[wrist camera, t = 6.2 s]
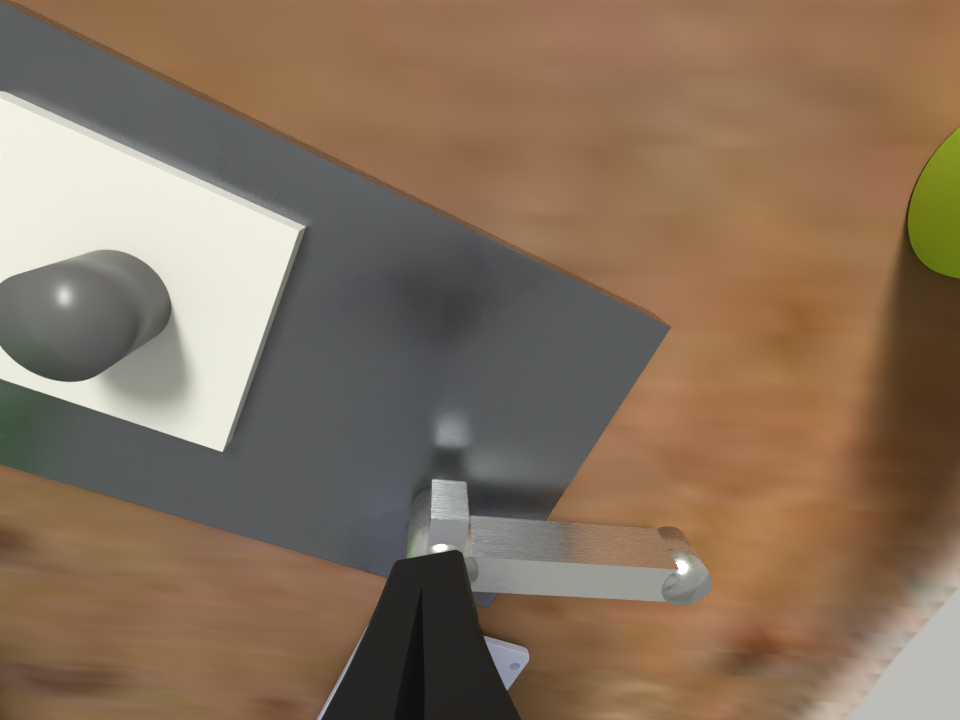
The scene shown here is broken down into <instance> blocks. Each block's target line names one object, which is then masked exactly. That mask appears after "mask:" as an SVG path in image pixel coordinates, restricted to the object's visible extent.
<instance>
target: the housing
mask: <svg viewBox="0 0 960 720" xmlns="http://www.w3.org/2000/svg"><path fill="white" fill-rule="evenodd" d="M0 91H3V92H7V93H9V94H11V95H14V96H16V97H18V98H20V99H23V100H25V101H27V102H29V103H31V104H34V105H36V106H38V107H40V108H43V109H45V110H47V111H49V112H52V113H54V114H56V115H58V116H60V117H63V118H65V119H67V120H69V121H72V122H74V123H76V124H78V125H80V126H83V127H85V128H87V129H89V130H92V131H94V132H96V133H98V134H101V135H103V136H105V137H107V138H109V139H112V140H114V141H116V142H118V143H121V144H123V145H125V146H127V147H130V148H132V149H134V150H136V151H138V152H141V153H143V154H145V155H147V156H150V157H152V158H154V159H156V160H158V161H161V162H163V163H165V164H167V165H170V166H172V167H174V168H176V169H179V170H181V171H183V172H185V173H187V174H190V175H192V176H194V177H196V178H199V179H201V180H203V181H205V182H208V183H210V184H212V185H214V186H216V187H219V188H221V189H223V190H225V191H228V192H230V193H232V194H234V195H236V196H239V197H241V198H243V199H245V200H248V201H250V202H252V203H254V204H257V205H259V206H261V207H263V208H265V209H268V210H270V211H272V212H274V213H277V214H279V215H281V216H283V217H286V218H288V219H290V220H292V221H294V222H297V223H299V224H301V225H303V226H306V229H305V231H304V234H303V237H302V240H301V243H300V246H299V249H298V251H297V254H296V257H295V260H294V263H293V266H292V269H291V271H290V274H289V277H288V280H287V283H286V286H285V289H284V291H283V294H282V297H281V300H280V303H279V306H278V309H277V311H276V314H275V317H274V320H273V323H272V326H271V329H270V331H269V334H268V337H267V340H266V343H265V346H264V349H263V351H262V354H261V357H260V360H259V363H258V366H257V369H256V371H255V374H254V377H253V380H252V383H251V386H250V389H249V391H248V394H247V397H246V400H245V403H244V406H243V409H242V411H241V414H240V417H239V420H238V423H237V426H236V429H235V431H234V434H233V437H232V440H231V441H230V442H229V444H228V445H227V447H226V448H225V449H224V451H223V452H221V451H218V450H215V449H212V448H209V447H206V446H203V445H200V444H197V443H193V442H190V441H187V440H184V439H181V438H178V437H175V436H172V435H169V434H166V433H163V432H160V431H157V430H154V429H151V428H148V427H145V426H142V425H139V424H136V423H133V422H130V421H127V420H124V419H121V418H118V417H115V416H112V415H109V414H105V413H102V412H99V411H96V410H93V409H90V408H87V407H84V406H81V405H78V404H75V403H72V402H69V401H66V400H63V399H60V398H57V397H54V396H51V395H48V394H45V393H42V392H39V391H36V390H33V389H30V388H27V387H24V386H21V385H17V384H14V383H11V382H8V381H5V380H2V379H0V464H2V465H5V466H9V467H12V468H16V469H19V470H22V471H26V472H29V473H33V474H36V475H39V476H43V477H46V478H50V479H53V480H56V481H60V482H63V483H67V484H70V485H73V486H77V487H80V488H84V489H87V490H90V491H94V492H97V493H101V494H104V495H107V496H111V497H114V498H118V499H121V500H124V501H128V502H131V503H134V504H138V505H141V506H145V507H148V508H151V509H155V510H158V511H162V512H165V513H168V514H172V515H175V516H179V517H182V518H185V519H189V520H192V521H196V522H199V523H202V524H206V525H209V526H213V527H216V528H219V529H223V530H226V531H230V532H233V533H236V534H240V535H243V536H247V537H250V538H253V539H257V540H260V541H264V542H267V543H270V544H274V545H277V546H281V547H284V548H287V549H291V550H294V551H298V552H301V553H304V554H308V555H311V556H315V557H318V558H321V559H325V560H328V561H331V562H335V563H338V564H342V565H345V566H348V567H352V568H355V569H359V570H362V571H365V572H369V573H372V574H376V575H379V576H382V577H386V578H388V577H389V574H390V572H391V569H392V566H393V565H394V563H395V562H396V561H397V560H401V559H406V555H407V543H408V531H409V519H410V509H411V505H412V502H413V501H414V499H415V498H416V497H417V496H418V495H419V494H420V493H421V492H423V491H424V490H426V489H429V488H431V484H432V479H438V480H450V481H463V482H466V484H467V496H468V498H469V499H470V501H471V503H472V506H473V516H485V517H499V518H513V519H527V520H541V521H545V520H546V519H547V517H548V516H549V514H550V513H551V511H552V509H553V508H554V506H555V505H556V503H557V502H558V500H559V499H560V497H561V496H562V494H563V493H564V491H565V490H566V488H567V486H568V485H569V483H570V482H571V480H572V479H573V477H574V476H575V474H576V473H577V471H578V470H579V468H580V466H581V465H582V463H583V462H584V460H585V459H586V457H587V456H588V454H589V453H590V451H591V450H592V448H593V446H594V445H595V443H596V442H597V440H598V439H599V437H600V436H601V434H602V433H603V431H604V430H605V428H606V426H607V425H608V423H609V422H610V420H611V419H612V417H613V416H614V414H615V413H616V411H617V410H618V408H619V407H620V405H621V403H622V402H623V400H624V399H625V397H626V396H627V394H628V393H629V391H630V390H631V388H632V387H633V385H634V383H635V382H636V380H637V379H638V377H639V376H640V374H641V373H642V371H643V370H644V368H645V367H646V365H647V363H648V362H649V360H650V359H651V357H652V356H653V354H654V353H655V351H656V350H657V348H658V347H659V345H660V344H661V342H662V340H663V339H664V337H665V336H666V334H667V333H668V331H669V330H670V328H671V327H670V326H669V325H667V324H666V323H665V322H664V321H662V320H661V319H660V318H659V317H657V316H656V315H655V314H653V313H651V312H649V311H647V310H645V309H643V308H641V307H639V306H637V305H635V304H633V303H631V302H629V301H627V300H625V299H623V298H621V297H618V296H616V295H614V294H612V293H610V292H608V291H606V290H604V289H602V288H600V287H598V286H596V285H594V284H592V283H590V282H588V281H586V280H584V279H582V278H580V277H577V276H575V275H573V274H571V273H569V272H567V271H565V270H563V269H561V268H559V267H557V266H555V265H553V264H551V263H549V262H547V261H545V260H543V259H541V258H538V257H536V256H534V255H532V254H530V253H528V252H526V251H524V250H522V249H520V248H518V247H516V246H514V245H512V244H510V243H508V242H506V241H504V240H502V239H500V238H497V237H495V236H493V235H491V234H489V233H487V232H485V231H483V230H481V229H479V228H477V227H475V226H473V225H471V224H469V223H467V222H465V221H463V220H461V219H459V218H456V217H454V216H452V215H450V214H448V213H446V212H444V211H442V210H440V209H438V208H436V207H434V206H432V205H430V204H428V203H426V202H424V201H422V200H420V199H418V198H415V197H413V196H411V195H409V194H407V193H405V192H403V191H401V190H399V189H397V188H395V187H393V186H391V185H389V184H387V183H385V182H383V181H381V180H379V179H376V178H374V177H372V176H370V175H368V174H366V173H364V172H362V171H360V170H358V169H356V168H354V167H352V166H350V165H348V164H346V163H344V162H342V161H340V160H338V159H335V158H333V157H331V156H329V155H327V154H325V153H323V152H321V151H319V150H317V149H315V148H313V147H311V146H309V145H307V144H305V143H303V142H301V141H299V140H297V139H294V138H292V137H290V136H288V135H286V134H284V133H282V132H280V131H278V130H276V129H274V128H272V127H270V126H268V125H266V124H264V123H262V122H260V121H258V120H255V119H253V118H251V117H249V116H247V115H245V114H243V113H241V112H239V111H237V110H235V109H233V108H231V107H229V106H227V105H225V104H223V103H221V102H219V101H217V100H214V99H212V98H210V97H208V96H206V95H204V94H202V93H200V92H198V91H196V90H194V89H192V88H190V87H188V86H186V85H184V84H182V83H180V82H178V81H176V80H173V79H171V78H169V77H167V76H165V75H163V74H161V73H159V72H157V71H155V70H153V69H151V68H149V67H147V66H145V65H143V64H141V63H139V62H137V61H134V60H132V59H130V58H128V57H126V56H124V55H122V54H120V53H118V52H116V51H114V50H112V49H110V48H108V47H106V46H104V45H102V44H100V43H98V42H96V41H93V40H91V39H89V38H87V37H85V36H83V35H81V34H79V33H77V32H75V31H73V30H71V29H69V28H67V27H65V26H63V25H61V24H59V23H57V22H55V21H52V20H50V19H48V18H46V17H44V16H42V15H40V14H38V13H36V12H34V11H32V10H30V9H28V8H26V7H24V6H22V5H20V4H17V3H14V2H12V1H9V0H0ZM472 594H473V598H474V602H475V604H478V605H481V606H484V607H488V608H489V606H490V605H491V603H492V602H493V600H494V599H495V597H496V596H497V594H498V593H493V592H474V591H472Z"/></svg>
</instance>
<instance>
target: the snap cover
mask: <svg viewBox="0 0 960 720" xmlns="http://www.w3.org/2000/svg"><path fill="white" fill-rule="evenodd" d="M305 229H306V226H303V225H301V224H299V223H297V222H294V221H292V220H290V219H288V218H286V217H283V216H281V215H279V214H277V213H274V212H272V211H270V210H268V209H265V208H263V207H261V206H259V205H257V204H254V203H252V202H250V201H248V200H245V199H243V198H241V197H239V196H236V195H234V194H232V193H230V192H228V191H225V190H223V189H221V188H219V187H216V186H214V185H212V184H210V183H208V182H205V181H203V180H201V179H199V178H196V177H194V176H192V175H190V174H187V173H185V172H183V171H181V170H179V169H176V168H174V167H172V166H170V165H167V164H165V163H163V162H161V161H158V160H156V159H154V158H152V157H150V156H147V155H145V154H143V153H141V152H138V151H136V150H134V149H132V148H130V147H127V146H125V145H123V144H121V143H118V142H116V141H114V140H112V139H109V138H107V137H105V136H103V135H101V134H98V133H96V132H94V131H92V130H89V129H87V128H85V127H83V126H80V125H78V124H76V123H74V122H72V121H69V120H67V119H65V118H63V117H60V116H58V115H56V114H54V113H52V112H49V111H47V110H45V109H43V108H40V107H38V106H36V105H34V104H31V103H29V102H27V101H25V100H23V99H20V98H18V97H16V96H14V95H11V94H9V93H7V92H3V91H0V379H2V380H5V381H8V382H11V383H14V384H17V385H21V386H24V387H27V388H30V389H33V390H36V391H39V392H42V393H45V394H48V395H51V396H54V397H57V398H60V399H63V400H66V401H69V402H72V403H75V404H78V405H81V406H84V407H87V408H90V409H93V410H96V411H99V412H102V413H105V414H109V415H112V416H115V417H118V418H121V419H124V420H127V421H130V422H133V423H136V424H139V425H142V426H145V427H148V428H151V429H154V430H157V431H160V432H163V433H166V434H169V435H172V436H175V437H178V438H181V439H184V440H187V441H190V442H193V443H197V444H200V445H203V446H206V447H209V448H212V449H215V450H218V451H221V452H223V451H224V449H225V448H226V447H227V445H228V444H229V442H230V441H231V440H232V437H233V434H234V431H235V429H236V426H237V423H238V420H239V417H240V414H241V411H242V409H243V406H244V403H245V400H246V397H247V394H248V391H249V389H250V386H251V383H252V380H253V377H254V374H255V371H256V369H257V366H258V363H259V360H260V357H261V354H262V351H263V349H264V346H265V343H266V340H267V337H268V334H269V331H270V329H271V326H272V323H273V320H274V317H275V314H276V311H277V309H278V306H279V303H280V300H281V297H282V294H283V291H284V289H285V286H286V283H287V280H288V277H289V274H290V271H291V269H292V266H293V263H294V260H295V257H296V254H297V251H298V249H299V246H300V243H301V240H302V237H303V234H304V231H305Z"/></svg>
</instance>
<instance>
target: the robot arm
mask: <svg viewBox="0 0 960 720" xmlns="http://www.w3.org/2000/svg"><path fill="white" fill-rule="evenodd" d="M528 661H529V652H528V650H527V648H525V647H523V646H519V645H516V644H512V643H508V642H505V641H501V640H498V639H494V638H491V637H487V636H483V633H482V631H481V628H480V626H479V621H478V614H477V610H476V606H475V602H474V598H473V594H472V589H471V585H470V581H469V577H468V573H467V569H466V564H465V560H464V556H463V553H462V552H460V551H458V550H451V551H445V552H440V553H434V554H429V555H423V556H418V557H412V558H407V559H401V560H397V561H396V562H395V563H394V565H393V566H392V569H391V572H390V574H389V577H388V579H387V582H386V585H385V587H384V590H383V592H382V595H381V597H380V599H379V602H378V604H377V606H376V609H375V611H374V613H373V616H372V618H371V620H370V622H369V624H368V626H367V628H366V629H365V631H364V633H363V635H362V637H361V639H360V640H359V642H358V644H357V646H356V648H355V650H354V651H353V653H352V655H351V657H350V659H349V661H348V662H347V664H346V666H345V668H344V670H343V672H342V673H341V675H340V677H339V679H338V681H337V683H336V684H335V686H334V688H333V690H332V692H331V694H330V695H329V697H328V699H327V701H326V703H325V705H324V706H323V708H322V710H321V712H320V714H319V716H318V717H317V719H316V720H521V719H520V717H519V715H518V713H517V711H516V709H515V706H514V704H513V702H512V700H511V698H510V696H509V694H508V692H507V690H508V689H509V688H510V686H511V685H512V683H513V682H514V681H515V679H516V678H517V677H518V675H519V674H520V672H521V671H522V670H523V668H524V667H525V666H526V664H527V663H528Z"/></svg>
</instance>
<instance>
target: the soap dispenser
mask: <svg viewBox="0 0 960 720" xmlns="http://www.w3.org/2000/svg"><path fill="white" fill-rule="evenodd" d="M908 233H909V239H910V242H911V245H912V248H913V250H914V252H915V254H916V255H917V257H918V258H919V259H920V260H921V262H922V263H923V264H925V265H926V266H927V267H928V268H930V269H931V270H933V271H935V272H937V273H940V274H943V275H947V276H950V277H954V278H958V279H960V127H959V128H958V129H957V130H956V131H955V132H954V133H952V134H951V135H950V136H949V137H948V138H947V139H946V140H945V141H944V143H943V144H942V145H941V146H940V147H939V148H938V150H937V151H936V152H935V153H934V155H933V156H932V157H931V159H930V160H929V162H928V163H927V165H926V167H925V168H924V170H923V172H922V174H921V176H920V177H919V180H918V182H917V184H916V186H915V189H914V192H913V195H912V198H911V202H910V207H909V213H908Z"/></svg>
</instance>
